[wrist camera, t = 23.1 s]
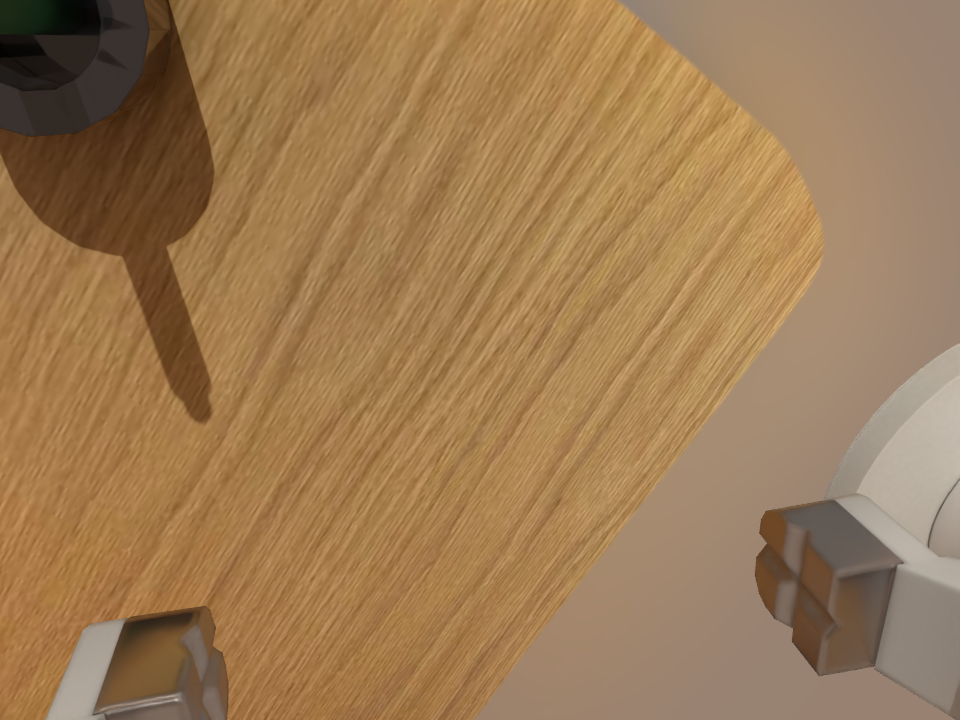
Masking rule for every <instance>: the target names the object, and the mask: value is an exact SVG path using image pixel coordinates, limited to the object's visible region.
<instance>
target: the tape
mask: <svg viewBox="0 0 960 720" xmlns="http://www.w3.org/2000/svg"><path fill="white" fill-rule="evenodd" d="M81 1H82V3H83V7H84V19H83V22H82V25H81V26H80V28H79V29H78V30H76V31H75V32H73V33H71V34H68V35H22V34H0V128H1V129H5V130H8V131H12V132H15V133H18V134H22V135H25V136H31V137H34V136H48V135H61V134H74V133H78V132H82V131H84V130H87V129H90V128H92V127H95V126H98V125H100V124H103V123H106V122H109V121H111V120H112V119H114V118H116V117H118V116H120V115H122V114H124V113H126V112H128V111H129V110H131V109H133V108H135V107H137V106H138V105H140V104H141V103H142V102H144V100H145V99H146V97H147V96H148V95H149V94H150V92H151V91H152V90H153V89H154V88H155V86H156V84H157V83H158V81H159V79H160V78H161V76H162V75H163V74H164V71H165V68H166V64H167V60H168V56H169V52H170V45H171V36H172V26H171V19H170V12H169V7H168V3H167V0H81Z"/></svg>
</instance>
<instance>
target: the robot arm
mask: <svg viewBox="0 0 960 720" xmlns="http://www.w3.org/2000/svg"><path fill="white" fill-rule="evenodd" d="M759 533H760V535H761V536H762V537H763V539H764V540H765V541H766V542H767V544H766V546H765V547H764V548H763V550H762V551H761V552H760V553H759V554H758V556H757V557H756V569H755V577H756V582H757V586H758V591H759V594H760V596H761V598H762V600H763V602H764V604H765V607H766V608H767V609H768V611H769V612H770V613H771V615H772V616H773V617H774V619H776V620H778V621H780V622H782V623H784V624H786V625H788V626H790V627H791V628H793V636H792V642H793V643H794V645H795V646H796V647H797V648H798V650H799V651H800V652H801V654H802V655H803V656H804V658H805V659H806V660H807V661H808V663H809V664H810V665H811V667H812V668H813V669H814V670H815V672H816V673H817V674H818V675H819V676H823V675H829V674H835V673H840V672H846V671H851V670H857V669H863V668H868V667H874V666H875V668H874V670H876V671H878V672H880V673H881V674H883V675H884V676H886V677H888V678H889V679H891V680H892V681H894V682H895V683H897V684H899V685H900V686H902V687H904V688H905V689H907V690H909V691H910V692H912V693H913V694H915V695H917V696H918V697H920V698H921V699H923V700H925V701H926V702H928V703H930V704H931V705H933V706H934V707H936V708H938V709H939V710H941V711H943V712H944V713H946V714H947V715H949V716H951V717H952V718H954V719H956V720H960V480H959V481H958V483H957V484H956V485H955V486H954V488H953V489H952V491H951V492H950V494H949V495H948V497H947V498H946V500H945V501H944V503H943V505H942V507H941V509H940V511H939V513H938V515H937V517H936V520H935V522H934V525H933V528H932V532H931V536H930V541H929V548H928V547H927V546H926V545H924V544H923V543H922V542H921V541H920V540H918V539H917V538H916V537H915V536H914V535H912V534H911V533H910V532H909V531H908V530H907V529H905V528H904V527H903V526H902V525H901V524H899V523H898V522H897V521H896V520H895V519H893V518H892V517H891V516H890V515H889V514H888V513H886V512H885V511H884V510H883V509H882V508H880V507H879V506H878V505H877V504H876V503H874V502H873V501H872V500H871V499H870V498H869V497H867V496H864V495H861V494H858V493H856V494H851V495H846V496H841V497H836V498H831V499H827V500H826V501H819V502H813V503H808V504H802V505H796V506H790V507H785V508H779V509H773V510H768V511H766V512H765V514H764V515H763V517H762V519H761V524H760V532H759ZM215 630H216V627H215V624H214V620H213V617H212V614H211V611H210V609H209V608H207V607H206V606H201V607H194V608H188V609H181V610H174V611H167V612H161V613H154V614H147V615H140V616H133V617H130V618H124V619H117V620H111V621H104V622H97V623H91V624H90V625H88V626H87V627H86V628H85V629H84V630H83V631H82V633H81V635H80V638H79V640H78V642H77V645H76V647H75V649H74V652H73V654H72V657H71V659H70V661H69V664H68V666H67V668H66V671H65V673H64V676H63V678H62V680H61V683H60V685H59V687H58V690H57V692H56V695H55V697H54V699H53V702H52V704H51V706H50V709H49V711H48V714H47V716H46V718H45V720H227V713H228V678H227V670H226V665H225V661H224V657H223V653H222V652H220V651H219V650H217V649H216V648H215V647H213V641H214V636H215Z"/></svg>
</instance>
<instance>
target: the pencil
mask: <svg viewBox="0 0 960 720" xmlns="http://www.w3.org/2000/svg"><path fill="white" fill-rule="evenodd" d="M83 19H84V7H83V3H82V1H81V0H0V34H22V35H68V34H71V33H73V32H75V31H76V30H78V29H79V28H80V26H81V25H82V22H83Z"/></svg>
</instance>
